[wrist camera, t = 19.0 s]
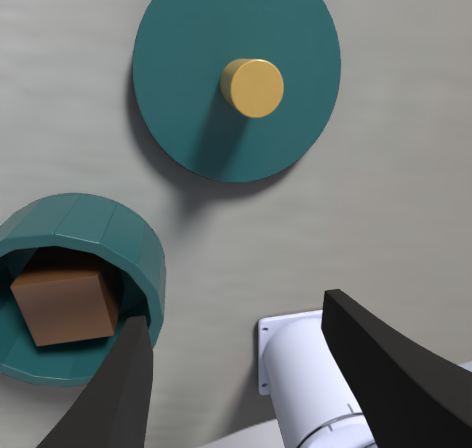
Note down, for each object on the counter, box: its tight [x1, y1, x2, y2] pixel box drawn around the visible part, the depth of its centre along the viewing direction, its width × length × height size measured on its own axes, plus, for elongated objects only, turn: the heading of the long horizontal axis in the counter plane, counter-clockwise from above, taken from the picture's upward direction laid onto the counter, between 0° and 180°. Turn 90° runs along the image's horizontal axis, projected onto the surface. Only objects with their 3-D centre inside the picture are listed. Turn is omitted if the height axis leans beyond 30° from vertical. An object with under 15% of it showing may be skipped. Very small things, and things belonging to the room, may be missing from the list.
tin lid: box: [132, 0, 341, 183], centre depth 16 cm, size 11×11×5 cm
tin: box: [0, 193, 166, 387], centre depth 20 cm, size 11×11×5 cm
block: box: [10, 246, 125, 346], centre depth 20 cm, size 4×4×4 cm
